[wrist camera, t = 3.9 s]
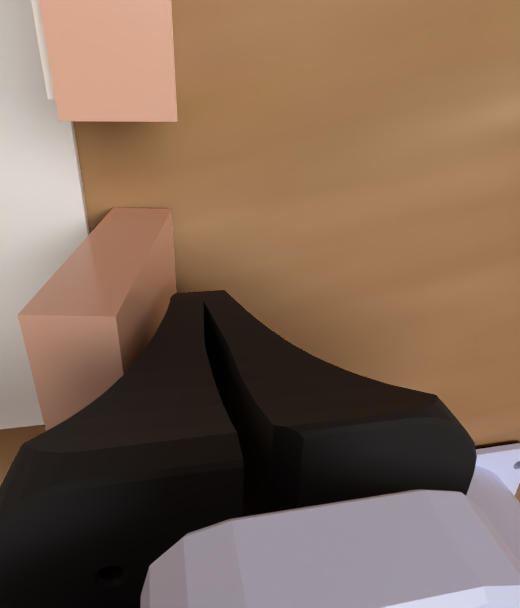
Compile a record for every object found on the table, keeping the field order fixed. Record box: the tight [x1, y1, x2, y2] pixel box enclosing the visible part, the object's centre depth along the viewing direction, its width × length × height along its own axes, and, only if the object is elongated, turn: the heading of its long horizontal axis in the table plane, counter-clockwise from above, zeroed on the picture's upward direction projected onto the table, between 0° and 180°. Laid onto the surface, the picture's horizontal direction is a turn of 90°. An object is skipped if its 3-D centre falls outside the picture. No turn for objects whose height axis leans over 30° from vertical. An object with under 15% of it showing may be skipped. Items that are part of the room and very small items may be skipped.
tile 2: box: [18, 207, 177, 431], centre depth 11 cm, size 4×2×6 cm, turn 179°
